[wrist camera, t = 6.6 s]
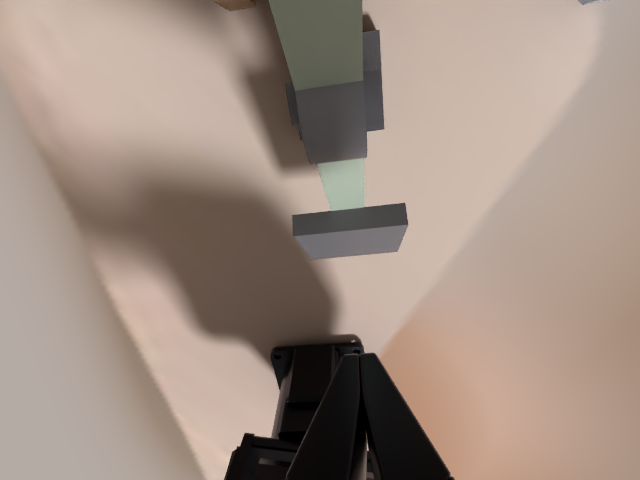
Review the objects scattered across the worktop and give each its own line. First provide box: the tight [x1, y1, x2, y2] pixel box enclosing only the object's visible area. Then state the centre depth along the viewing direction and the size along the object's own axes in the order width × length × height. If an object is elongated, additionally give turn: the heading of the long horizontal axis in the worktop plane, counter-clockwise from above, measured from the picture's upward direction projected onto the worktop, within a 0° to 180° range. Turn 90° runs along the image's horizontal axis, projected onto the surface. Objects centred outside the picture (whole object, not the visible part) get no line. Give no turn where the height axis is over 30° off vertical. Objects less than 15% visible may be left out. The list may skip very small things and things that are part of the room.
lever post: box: [285, 30, 384, 140], centre depth 12 cm, size 4×4×8 cm
